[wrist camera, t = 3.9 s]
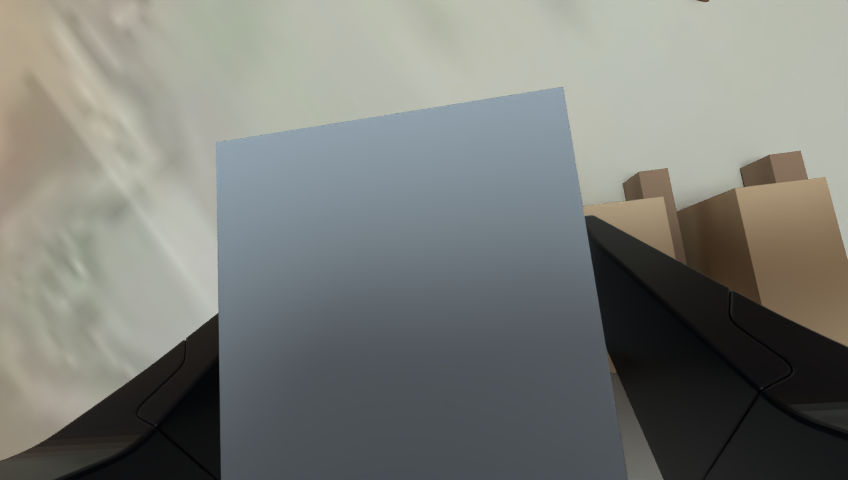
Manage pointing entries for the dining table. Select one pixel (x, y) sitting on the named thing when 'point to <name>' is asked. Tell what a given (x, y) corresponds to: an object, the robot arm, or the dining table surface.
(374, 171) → the batten
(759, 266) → the oak offcut
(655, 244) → the oak offcut
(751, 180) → the rack
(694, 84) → the dining table surface
